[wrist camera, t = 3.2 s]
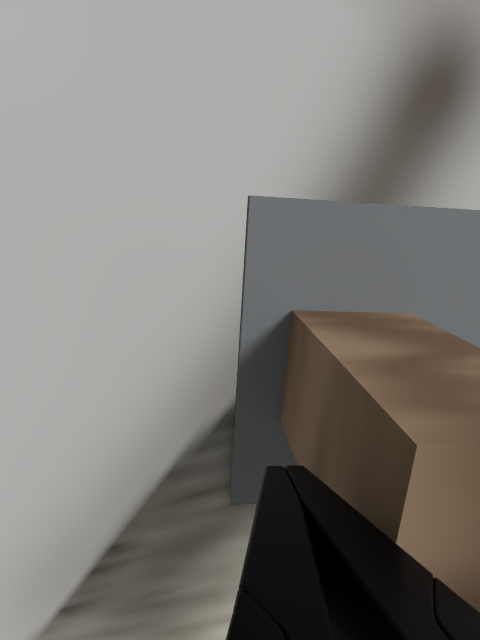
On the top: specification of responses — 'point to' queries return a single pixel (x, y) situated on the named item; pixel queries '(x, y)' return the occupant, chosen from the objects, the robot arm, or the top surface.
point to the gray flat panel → (338, 296)
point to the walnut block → (393, 430)
